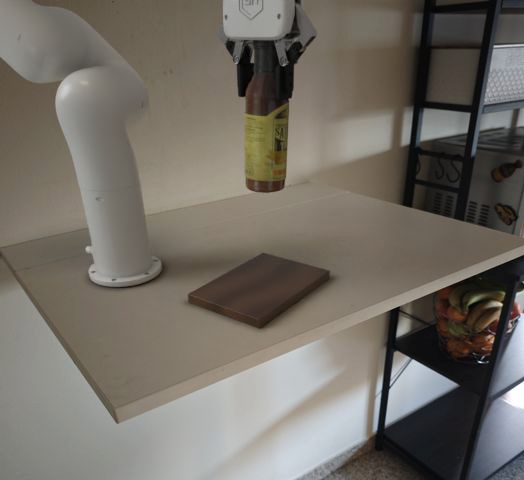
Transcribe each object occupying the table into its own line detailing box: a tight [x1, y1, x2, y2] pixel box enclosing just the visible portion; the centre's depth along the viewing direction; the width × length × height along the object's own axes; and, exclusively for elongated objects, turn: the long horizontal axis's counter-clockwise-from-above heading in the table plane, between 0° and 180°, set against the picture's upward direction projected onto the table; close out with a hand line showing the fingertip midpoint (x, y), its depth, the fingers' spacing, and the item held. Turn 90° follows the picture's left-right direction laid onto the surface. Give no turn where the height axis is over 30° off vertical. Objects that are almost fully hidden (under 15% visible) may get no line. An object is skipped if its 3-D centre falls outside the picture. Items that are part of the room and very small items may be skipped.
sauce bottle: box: [244, 40, 290, 194], centre depth 70 cm, size 7×6×20 cm
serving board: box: [187, 252, 331, 329], centre depth 81 cm, size 14×20×2 cm
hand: (265, 96), depth 69 cm, fingers closed on sauce bottle, 5 cm apart
